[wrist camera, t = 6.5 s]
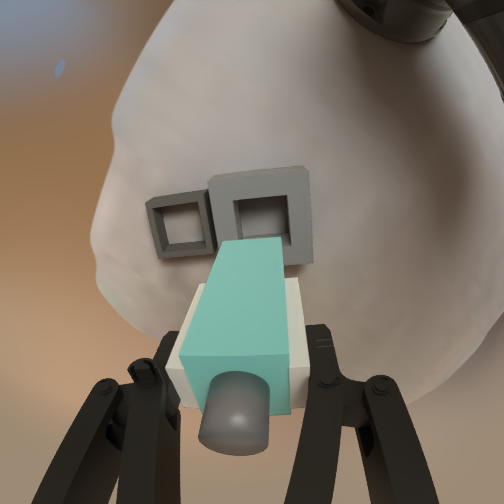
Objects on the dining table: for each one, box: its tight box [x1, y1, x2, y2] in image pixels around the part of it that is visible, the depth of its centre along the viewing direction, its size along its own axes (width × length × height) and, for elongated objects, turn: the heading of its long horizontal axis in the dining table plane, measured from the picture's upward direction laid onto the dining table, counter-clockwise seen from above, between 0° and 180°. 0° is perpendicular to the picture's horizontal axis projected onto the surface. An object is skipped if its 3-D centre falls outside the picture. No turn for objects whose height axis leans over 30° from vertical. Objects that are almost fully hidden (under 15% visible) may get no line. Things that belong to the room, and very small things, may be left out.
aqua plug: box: [178, 237, 291, 456], centre depth 14 cm, size 4×4×14 cm
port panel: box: [207, 166, 313, 266], centre depth 31 cm, size 10×10×4 cm
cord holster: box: [145, 189, 217, 259], centre depth 33 cm, size 7×7×2 cm
